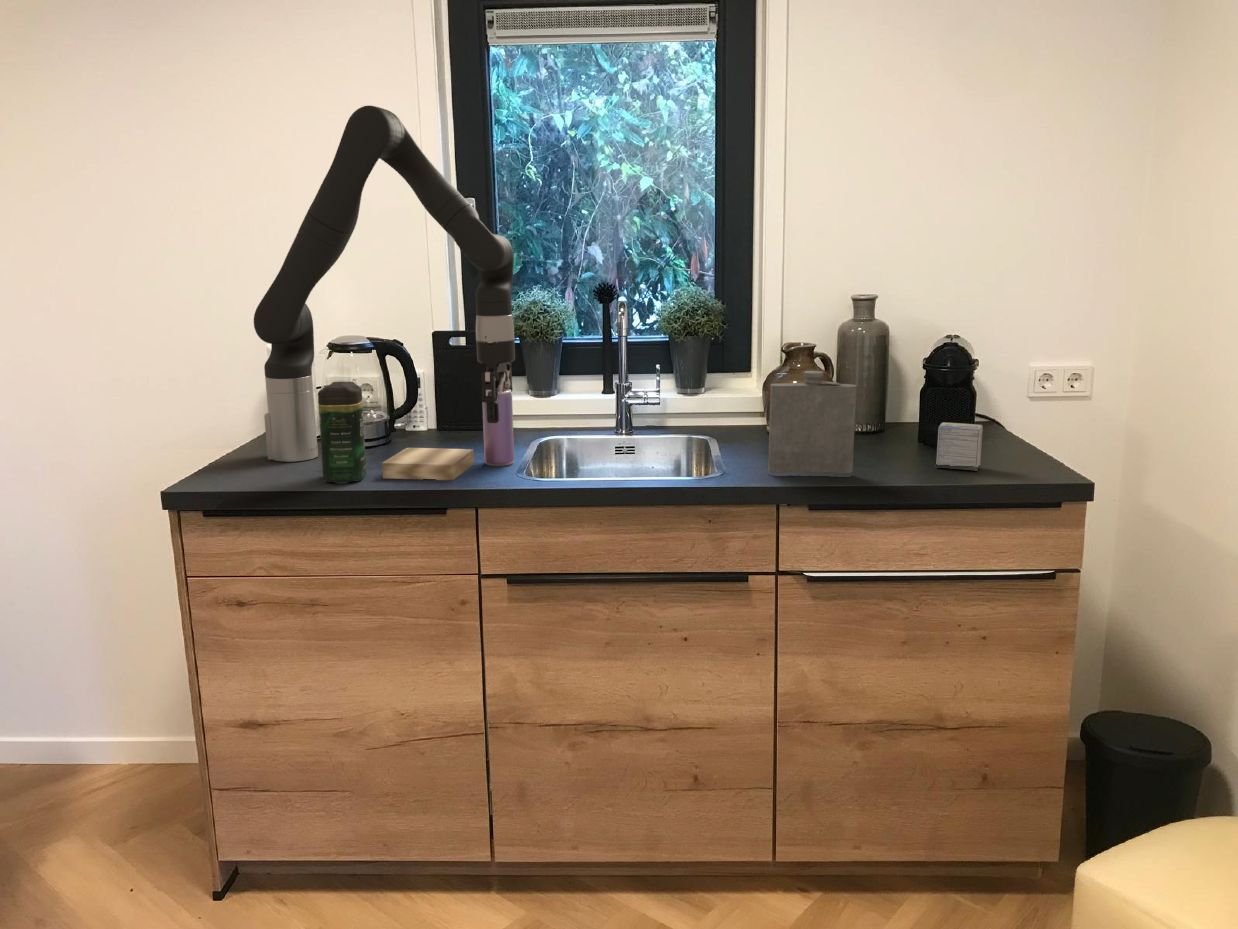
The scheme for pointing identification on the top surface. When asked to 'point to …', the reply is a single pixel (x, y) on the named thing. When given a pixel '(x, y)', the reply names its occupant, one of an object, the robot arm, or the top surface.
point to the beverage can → (499, 433)
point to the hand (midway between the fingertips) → (498, 418)
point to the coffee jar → (342, 432)
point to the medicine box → (959, 444)
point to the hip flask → (812, 426)
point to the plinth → (428, 463)
